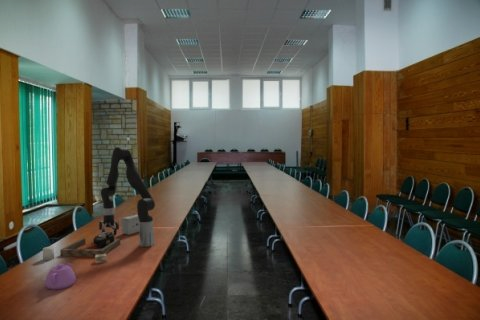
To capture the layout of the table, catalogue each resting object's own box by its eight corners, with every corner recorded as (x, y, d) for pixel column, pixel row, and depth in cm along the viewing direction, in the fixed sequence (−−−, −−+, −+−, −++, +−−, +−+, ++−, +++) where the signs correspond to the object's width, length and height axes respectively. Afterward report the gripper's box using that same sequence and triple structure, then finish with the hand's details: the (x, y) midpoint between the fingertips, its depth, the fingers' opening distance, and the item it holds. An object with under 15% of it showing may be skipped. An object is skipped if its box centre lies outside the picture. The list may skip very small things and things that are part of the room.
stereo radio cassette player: (141, 228, 286) (141, 204, 285) (148, 229, 282) (148, 205, 281) (121, 234, 268) (120, 209, 267) (128, 235, 264) (127, 210, 263)
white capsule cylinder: (56, 257, 215) (55, 246, 214) (50, 260, 209) (49, 249, 208) (47, 257, 215) (46, 246, 215) (40, 260, 209) (40, 249, 209)
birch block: (106, 260, 210) (106, 253, 210) (106, 262, 206) (105, 255, 206) (95, 261, 208) (95, 254, 207) (95, 263, 204) (95, 257, 204)
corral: (120, 244, 241) (120, 238, 241) (102, 256, 215) (102, 250, 215) (82, 243, 243) (82, 238, 243) (60, 255, 217) (60, 249, 217)
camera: (103, 242, 247) (103, 228, 247) (116, 243, 244) (115, 229, 244) (88, 248, 232) (88, 234, 232) (101, 250, 229) (101, 235, 229)
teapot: (83, 276, 185) (82, 256, 184) (66, 292, 165) (66, 270, 164) (56, 276, 184) (56, 257, 183) (37, 293, 164) (36, 271, 163)
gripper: (120, 212, 256) (120, 234, 257) (102, 212, 257) (102, 233, 258) (115, 215, 248) (116, 236, 249) (97, 214, 250) (97, 236, 251)
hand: (109, 235), depth 254 cm, fingers open, 8 cm apart
